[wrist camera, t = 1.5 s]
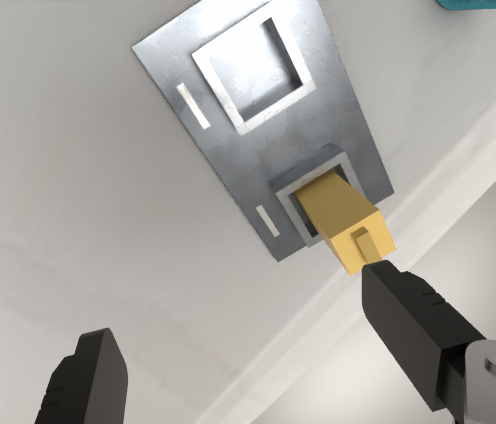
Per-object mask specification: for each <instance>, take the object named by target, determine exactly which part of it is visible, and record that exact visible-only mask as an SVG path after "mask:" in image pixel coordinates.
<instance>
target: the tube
mask: <svg viewBox="0 0 496 424" xmlns="http://www.w3.org/2000/svg"><path fill="white" fill-rule="evenodd" d="M437 1H438V2H439V3H440V5H442V6H443V7H444V8H446V9H449V10H472V9H496V0H437Z"/></svg>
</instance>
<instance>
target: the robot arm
mask: <svg viewBox="0 0 496 424" xmlns="http://www.w3.org/2000/svg"><path fill="white" fill-rule="evenodd" d="M362 306H363V310H364V313H365V315H366V318H367V319H368V321H369V323H370V324H371V325H372V326H373V328H374V330H375V331H376V332H377V334H378V335H379V337H380V338H381V339H382V341H383V342H384V344H385V345H386V347H387V348H388V350H389V351H390V352H391V354H392V355H393V357H394V358H395V360H396V361H397V362H398V364H399V365H400V367H401V368H402V369H403V371H404V372H405V374H406V375H407V376H408V378H409V379H410V381H411V382H412V383H413V385H414V387H415V388H416V389H417V391H418V392H419V394H420V395H421V396H422V398H423V399H424V401H425V402H426V404H427V405H428V406H429V408H430V409H431V411H432V412H434V411H437V410H440V409H444V408H447V409H448V410H449V411H450V413H451V414H452V415H453V423H452V424H496V341H495V340H487V339H486V338H485V337H484V336H483V335H482V334H481V333H480V332H479V331H478V330H477V329H476V328H474V327H473V326H472V325H471V324H470V323H469V322H468V321H467V320H466V319H465V318H464V317H463V316H462V315H461V314H460V313H459V312H458V311H456V310H455V309H454V308H453V307H452V306H451V305H450V304H449V303H448V302H447V303H446V301H445V299H444V298H442V296H441V295H440V294H439V293H436V291H435V290H434V289H433V288H432V287H431V286H430V285H429V284H428V283H427V282H426V281H425V280H424V279H422V278H420V277H418V276H416V275H414V274H412V273H410V272H408V271H406V272H402V273H401V272H400V271H399V270H398V269H397V268H396V267H395V266H394V265H393V264H392V263H391V262H390V261H388V260H382V261H378V262H374V263H370V264H366V265H363V267H362ZM127 387H128V373H127V367H126V364H125V361H124V359H123V356H122V354H121V352H120V350H119V347H118V345H117V343H116V340H115V338H114V336H113V334H112V332H111V330H110V329H109V328H105V329H101V330H97V331H93V332H89V333H85V334H82V335H81V336H80V338H79V341H78V344H77V347H76V350H75V354H74V355H71V356H67V357H64V359H63V360H62V361H61V363H60V364H59V365H58V367H57V368H56V369H55V371H54V372H53V373H52V375H51V378H50V381H49V384H48V387H47V390H46V395H44V398H43V401H42V404H41V410H39V412H38V415H37V418H36V421H35V424H123V420H124V412H125V404H126V395H127Z"/></svg>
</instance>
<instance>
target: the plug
mask: <svg viewBox="0 0 496 424" xmlns="http://www.w3.org/2000/svg"><path fill="white" fill-rule="evenodd" d="M293 194H294V196H295V197H296V199H297V201H298V203H299V204H300V206H301V208H302V210H303V211H304V213H305V215H306V217H307V218H308V219H309V221H310V222H311V223H312V225H313V226H314V227H315V229H316V230H317V232H318V233H319V234H320V236H321V237H322V238H323V240H324V241H325V242H326V244H327V245H328V246H329V248H330V249H331V250H332V252H333V253H334V255H335V256H336V257H337V259H338V260H339V261H340V263H341V264H342V265H343V267H344V268H345V269H346V271H347V272H348V273H349V275H350V276H351V275H353V274H354V273H356V272H358V271H360V270H361V269H362V267H363V265H366V264H370V263H374V262H378V261H382V259H381V258H382V257H384V256H385V255H387V254H389V253H390V252H392V251H394V250H396V247H395V244H394V242H393V240H392V237H391V235H390V233H389V231H388V228H387V226H386V224H385V221H384V219H383V217H382V215H381V212H380V210H379V209H378V208H377V207H375V206H374V205H373V204H372V203H371V202H369V201H368V200H367V199H366V198H365V197H364V196H362V195H361V194H360V193H359V192H358V191H356V190H355V189H354V188H353V187H352V186H351V185H349V184H348V183H347V182H346V181H345V180H343V179H342V178H341V177H340V176H339V175H337V174H336V173H335V172H334V171H333V170H332V169H330V170H328V171H326V172H325V173H323V174H321V175H320V176H318V177H317V178H315V179H313V180H312V181H310V182H308V183H307V184H305V185H304V186H302V187H300V188H299V189H297V190H295V191H294V192H293Z"/></svg>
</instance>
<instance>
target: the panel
mask: <svg viewBox="0 0 496 424" xmlns="http://www.w3.org/2000/svg"><path fill="white" fill-rule="evenodd" d="M132 49H133V50H134V52H135V53H136V55H137V56H138V58H139V59H140V61H141V62H142V64H143V65H144V67H145V68H146V70H147V71H148V72H149V74H150V75H151V77H152V78H153V80H154V81H155V83H156V84H157V86H158V87H159V89H160V90H161V92H162V93H163V94H164V96H165V97H166V99H167V100H168V102H169V103H170V105H171V106H172V108H173V109H174V111H175V112H176V114H177V115H178V116H179V118H180V119H181V121H182V122H183V124H184V125H185V127H186V128H187V130H188V131H189V133H190V134H191V136H192V137H193V138H194V140H195V141H196V143H197V144H198V146H199V147H200V149H201V150H202V152H203V153H204V155H205V156H206V158H207V159H208V160H209V162H210V163H211V165H212V166H213V168H214V169H215V171H216V172H217V174H218V175H219V177H220V178H221V180H222V181H223V182H224V184H225V185H226V187H227V188H228V190H229V191H230V193H231V194H232V196H233V197H234V199H235V200H236V202H237V203H238V204H239V206H240V207H241V209H242V210H243V212H244V213H245V215H246V216H247V218H248V219H249V221H250V222H251V224H252V225H253V226H254V228H255V229H256V231H257V232H258V234H259V235H260V237H261V238H262V240H263V241H264V243H265V244H266V246H267V247H268V249H269V250H270V251H271V253H272V254H273V256H274V257H275V259H276V260H277V262H280V261H281V260H283V259H285V258H286V257H288V256H290V255H291V254H293V253H295V252H296V251H298V250H300V249H301V248H303V247H305V246H306V245H307V246H308V248H309V247H311V246H313V245H315V244H316V243H318V242H320V241H321V240H323V238H322V237H321V236H320V234H319V233H318V232H317V230H316V229H315V227H314V226H313V225H312V223H311V222H310V221H309V219H308V218H307V217H306V215H305V213H304V211H303V210H302V208H301V206H300V204H299V203H298V201H297V199H296V197H295V196H294V194H293V192H294V191H295V190H297V189H299V188H300V187H302V186H304V185H305V184H307V183H308V182H310V181H312V180H313V179H315V178H317V177H318V176H320V175H321V174H323V173H325V172H326V171H328V170H330V169H332V170H333V171H334V172H335V173H336V174H337V175H339V176H340V177H341V178H342V179H343V180H345V181H346V182H347V183H348V184H349V185H351V186H352V187H353V188H354V189H355V190H356V191H358V192H359V193H360V194H361V195H362V196H364V197H365V198H366V199H367V200H368V201H369V202H371V203H372V204H373V205H375V204H377V203H378V202H380V201H382V200H383V199H385V198H387V197H388V196H390V195H392V194H393V193H394V190H393V188H392V185H391V183H390V180H389V178H388V175H387V173H386V170H385V168H384V165H383V163H382V160H381V158H380V155H379V153H378V150H377V148H376V145H375V143H374V140H373V138H372V135H371V133H370V130H369V128H368V125H367V123H366V120H365V118H364V115H363V113H362V110H361V108H360V105H359V103H358V100H357V98H356V95H355V93H354V90H353V88H352V85H351V83H350V80H349V78H348V75H347V73H346V70H345V68H344V65H343V63H342V60H341V58H340V55H339V53H338V50H337V48H336V45H335V43H334V40H333V38H332V35H331V33H330V30H329V28H328V25H327V23H326V20H325V18H324V15H323V13H322V10H321V8H320V5H319V3H318V0H201V1H200V2H198V3H197V4H195V5H194V6H192V7H191V8H189V9H188V10H186V11H185V12H183V13H182V14H180V15H179V16H177V17H176V18H175V19H173V20H172V21H170V22H169V23H167V24H166V25H164V26H163V27H161V28H160V29H158V30H157V31H155V32H154V33H152V34H151V35H149V36H148V37H146V38H145V39H144V40H142V41H141V42H139V43H138V44H136V45H135V46H133V47H132Z"/></svg>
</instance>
